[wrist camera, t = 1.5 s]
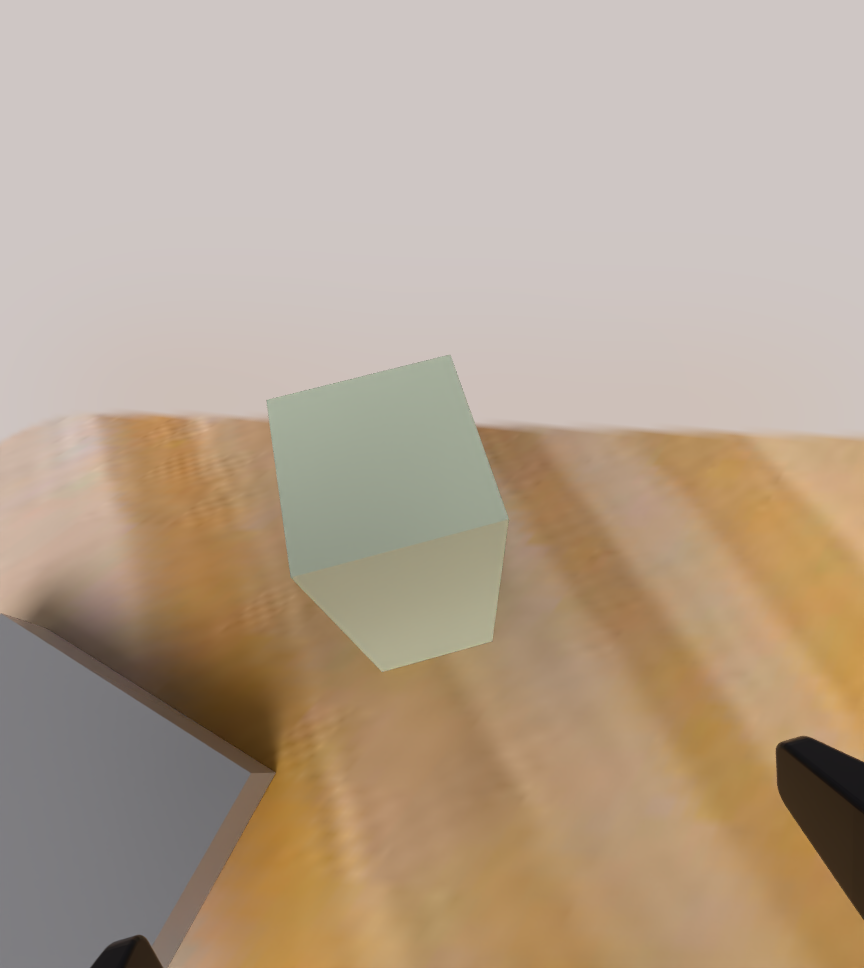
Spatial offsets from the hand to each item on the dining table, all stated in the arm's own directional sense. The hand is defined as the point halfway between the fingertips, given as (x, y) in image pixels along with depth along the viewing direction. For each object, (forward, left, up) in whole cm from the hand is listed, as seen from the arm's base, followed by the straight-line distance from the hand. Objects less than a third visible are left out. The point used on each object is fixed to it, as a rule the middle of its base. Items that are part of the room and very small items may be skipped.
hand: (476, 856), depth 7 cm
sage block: (+5, -6, -13) cm, 15 cm away
